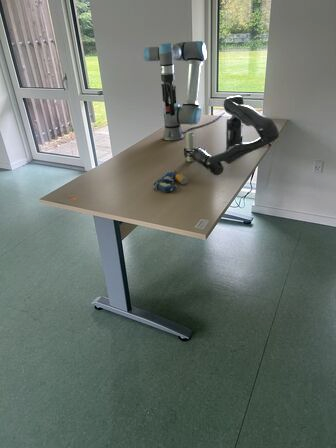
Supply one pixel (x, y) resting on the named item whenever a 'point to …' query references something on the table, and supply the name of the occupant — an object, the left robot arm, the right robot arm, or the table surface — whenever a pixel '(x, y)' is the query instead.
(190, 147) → the bottle
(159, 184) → the spray gun
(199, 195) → the table surface
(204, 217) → the table surface
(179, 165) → the table surface
